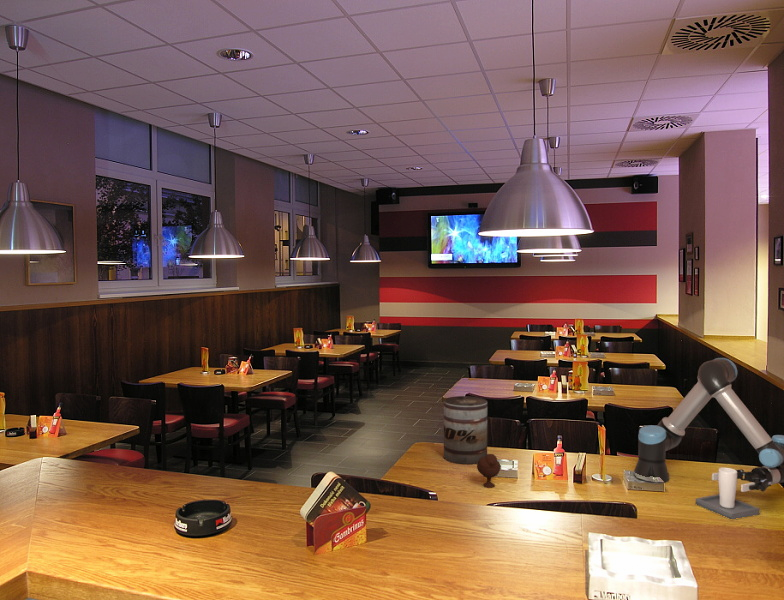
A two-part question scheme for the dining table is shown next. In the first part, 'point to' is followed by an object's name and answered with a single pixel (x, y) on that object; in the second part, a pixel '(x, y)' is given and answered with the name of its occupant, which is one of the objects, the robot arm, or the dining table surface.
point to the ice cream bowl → (488, 468)
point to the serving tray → (738, 511)
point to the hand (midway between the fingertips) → (726, 482)
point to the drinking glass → (727, 487)
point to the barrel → (465, 429)
